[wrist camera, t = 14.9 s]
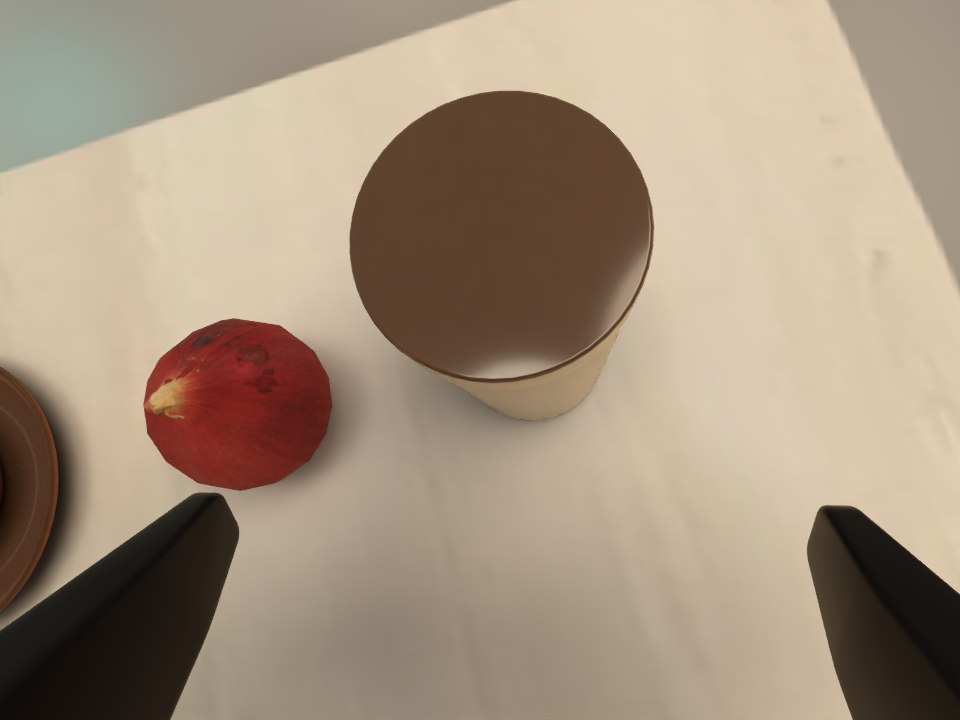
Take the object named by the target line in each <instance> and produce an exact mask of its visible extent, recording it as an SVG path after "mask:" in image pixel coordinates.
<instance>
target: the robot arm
mask: <svg viewBox="0 0 960 720" xmlns="http://www.w3.org/2000/svg"><path fill="white" fill-rule="evenodd" d="M238 539H239V527H238V524H237V522H236V520H235V518H234V516H233V514H232V512H231V510H230V508H229V506H228V504H227V502H226V500H225V498H224V497H223V496H222V495H221V494H219V493H195V494H193V495H191V496H189V497H188V498H187V499H185V500H184V501H182V502H181V503H179V504H178V505H177V506H175V507H174V508H172V509H171V510H170V511H168V512H167V513H165V514H164V515H163V516H161V517H160V518H158V519H157V520H156V521H154V522H153V523H151V524H150V525H149V526H147V527H146V528H144V529H143V530H141V531H140V532H139V533H137V534H136V535H134V536H133V537H132V538H130V539H129V540H127V541H126V542H125V543H123V544H122V545H120V546H119V547H118V548H116V549H115V550H113V551H112V552H111V553H109V554H108V555H106V556H105V557H104V558H102V559H101V560H99V561H98V562H96V563H95V564H94V565H92V566H91V567H89V568H88V569H87V570H85V571H84V572H82V573H81V574H80V575H78V576H77V577H75V578H74V579H73V580H71V581H70V582H68V583H67V584H66V585H64V586H63V587H61V588H60V589H58V590H57V591H56V592H54V593H53V594H51V595H50V596H49V597H47V598H46V599H44V600H43V601H42V602H40V603H39V604H37V605H36V606H35V607H33V608H32V609H30V610H29V611H27V612H26V613H25V614H23V615H22V616H20V617H19V618H18V619H16V620H15V621H13V622H12V623H11V624H9V625H8V626H6V627H5V628H4V629H2V630H1V631H0V720H170V719H171V717H172V714H173V712H174V710H175V707H176V705H177V703H178V700H179V698H180V696H181V694H182V691H183V689H184V687H185V684H186V682H187V680H188V678H189V675H190V673H191V671H192V668H193V666H194V664H195V661H196V659H197V657H198V655H199V652H200V650H201V648H202V645H203V643H204V641H205V638H206V636H207V633H208V631H209V628H210V625H211V622H212V620H213V617H214V614H215V611H216V608H217V605H218V602H219V599H220V596H221V592H222V589H223V586H224V583H225V580H226V577H227V574H228V571H229V568H230V565H231V562H232V559H233V556H234V552H235V549H236V546H237V543H238ZM807 556H808V562H809V566H810V570H811V574H812V579H813V583H814V587H815V591H816V595H817V599H818V603H819V607H820V611H821V615H822V619H823V624H824V628H825V632H826V636H827V640H828V644H829V648H830V652H831V656H832V660H833V663H834V667H835V671H836V674H837V677H838V680H839V683H840V686H841V688H842V691H843V694H844V697H845V700H846V702H847V705H848V708H849V710H850V713H851V716H852V719H853V720H960V594H959V593H958V592H956V591H955V590H954V589H953V588H952V587H950V586H949V585H948V584H947V583H946V582H944V581H943V580H942V579H941V578H940V577H939V576H937V575H936V574H935V573H934V572H933V571H931V570H930V569H929V568H928V567H927V566H925V565H924V564H923V563H922V562H921V561H920V560H918V559H917V558H916V557H915V556H914V555H912V554H911V553H910V552H909V551H908V550H906V549H905V548H904V547H903V546H902V545H901V544H899V543H898V542H897V541H896V540H895V539H893V538H892V537H891V536H890V535H889V534H887V533H886V532H885V531H884V530H883V529H882V528H880V527H879V526H878V525H877V524H876V523H874V522H873V521H872V520H871V519H870V518H868V517H867V516H866V515H865V514H864V513H863V512H861V511H860V510H859V509H857V508H855V507H852V506H834V505H825V506H822V507H821V508H820V509H819V510H818V512H817V515H816V518H815V521H814V524H813V528H812V531H811V534H810V537H809V540H808V545H807Z"/></svg>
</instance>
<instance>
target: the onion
mask: <svg viewBox="0 0 960 720" xmlns="http://www.w3.org/2000/svg"><path fill="white" fill-rule="evenodd" d="M331 408H332V401H331V393H330V385H329V378H328V376H327V374H326V372H325V370H324V368H323V367H322V365H321V363H320V361H319V359H318V358H317V356H316V354H315V352H314V351H313V350H312V349H310V348H309V347H308V346H307V345H306V344H304V343H303V342H302V341H300V340H299V339H298V338H296V337H295V336H293V335H292V334H291V333H289V332H288V331H287V330H285V329H284V328H283V327H281V326H280V325H274V324H267V323H261V322H254V321H248V320H241V319H234V318H233V319H228V320H222V321H219V322H216V323H214V324H211V325H209V326H207V327H204V328H202V329H199V330H197V331H194V332H192V333H191V334H190V335H189V336H188V337H186V338H185V339H184V340H183V341H181V342H180V343H179V344H177V345H176V346H175V347H173V348H172V349H171V350H170V351H168V352H167V353H166V354H164V355H163V356H162V357H161V358H160V359H159V361H158V363H157V365H156V366H155V368H154V370H153V372H152V374H151V376H150V377H149V379H148V382H147V387H146V393H145V399H144V412H145V418H146V425H147V434H148V435H149V437H150V438H151V440H152V441H153V443H154V444H155V445H156V447H157V448H158V450H159V451H160V453H161V454H162V456H163V457H164V459H165V460H166V462H168V463H169V464H170V465H172V466H173V467H175V468H176V469H178V470H179V471H181V472H182V473H184V474H185V475H187V476H188V477H190V478H191V479H193V480H194V481H196V482H197V483H201V484H206V485H211V486H216V487H222V488H228V489H233V490H239V491H241V490H246V489H250V488H255V487H260V486H264V485H269V484H273V483H275V482H277V481H279V480H281V479H283V478H284V477H286V476H287V475H289V474H290V473H292V472H293V471H295V470H296V469H298V468H299V467H300V466H302V465H303V464H305V463H306V462H308V461H309V460H310V458H311V457H312V455H313V454H314V452H315V450H316V449H317V447H318V446H319V444H320V443H321V441H322V439H323V438H324V436H325V435H326V432H327V427H328V422H329V418H330V413H331Z"/></svg>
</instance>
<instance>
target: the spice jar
mask: <svg viewBox="0 0 960 720" xmlns="http://www.w3.org/2000/svg"><path fill="white" fill-rule="evenodd" d="M653 238H654V221H653V210H652V204H651V200H650V196H649V192H648V188H647V186H646V183H645V180H644V178H643V175H642V173H641V170H640V169H639V167H638V165H637V163H636V162H635V160H634V158H633V157H632V155H631V153H630V152H629V151H628V149H627V148H626V147H625V146H624V144H623V143H622V142H621V140H620V139H619V138H618V137H617V136H616V135H615V134H614V133H613V132H612V131H611V130H610V129H609V128H608V127H607V126H606V125H604V124H603V123H602V122H600V121H599V120H598V119H596V118H595V117H594V116H592V115H591V114H589V113H588V112H586V111H584V110H582V109H580V108H579V107H577V106H575V105H573V104H570V103H568V102H565V101H563V100H560V99H558V98H555V97H551V96H547V95H543V94H539V93H532V92H524V91H494V92H486V93H479V94H475V95H471V96H467V97H463V98H460V99H457V100H454V101H452V102H449V103H446V104H444V105H442V106H440V107H438V108H436V109H434V110H432V111H430V112H428V113H426V114H425V115H423V116H422V117H420V118H419V119H417V120H416V121H414V122H413V123H411V124H410V125H409V126H408V127H407V128H405V129H404V130H403V131H402V132H401V133H400V134H398V135H397V136H396V137H395V138H394V139H393V140H392V142H391V143H390V144H389V145H388V146H387V147H386V148H385V149H384V150H383V152H382V153H381V154H380V156H379V157H378V159H377V160H376V161H375V163H374V164H373V166H372V167H371V169H370V171H369V173H368V175H367V176H366V178H365V180H364V182H363V185H362V187H361V189H360V192H359V194H358V197H357V200H356V204H355V208H354V211H353V215H352V222H351V229H350V260H351V267H352V273H353V277H354V281H355V284H356V288H357V291H358V293H359V296H360V298H361V300H362V303H363V305H364V307H365V309H366V311H367V312H368V314H369V316H370V317H371V319H372V320H373V322H374V324H375V325H376V326H377V327H378V329H379V330H380V331H381V332H382V333H383V335H384V336H385V337H386V338H387V339H388V340H389V341H390V342H391V343H392V344H393V345H394V346H395V347H396V348H397V349H399V350H400V351H401V352H402V353H404V354H405V355H407V356H408V357H409V358H411V359H412V360H414V361H415V362H417V363H418V364H420V365H421V366H423V367H425V368H426V369H428V370H429V371H431V372H433V373H435V374H437V375H439V376H441V377H443V378H445V379H447V380H450V381H451V382H453V383H454V384H456V385H457V386H459V387H460V388H462V389H464V390H465V391H467V392H468V393H470V394H471V395H473V396H474V397H476V398H478V399H479V400H481V401H482V402H484V403H485V404H487V405H488V406H490V407H491V408H493V409H495V410H496V411H498V412H500V413H502V414H504V415H507V416H509V417H512V418H516V419H521V420H544V419H549V418H553V417H556V416H559V415H561V414H563V413H565V412H568V411H569V410H571V409H572V408H574V407H575V406H577V405H578V404H579V403H580V402H581V401H582V400H583V399H584V398H585V397H586V396H587V395H588V394H589V393H590V391H591V390H592V388H593V387H594V385H595V383H596V381H597V379H598V377H599V375H600V373H601V371H602V368H603V366H604V364H605V362H606V359H607V357H608V355H609V353H610V351H611V348H612V346H613V344H614V342H615V339H616V337H617V335H618V333H619V330H620V328H621V327H622V325H623V324H624V322H625V321H626V319H627V317H628V315H629V313H630V311H631V309H632V307H633V305H634V303H635V301H636V299H637V297H638V295H639V293H640V291H641V289H642V286H643V284H644V281H645V278H646V275H647V272H648V269H649V265H650V260H651V255H652V250H653Z"/></svg>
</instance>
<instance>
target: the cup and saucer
mask: <svg viewBox="0 0 960 720" xmlns="http://www.w3.org/2000/svg"><path fill="white" fill-rule="evenodd" d="M57 495H58V462H57V455H56V449H55V444H54V440H53V436H52V432H51V430H50V427H49V424H48V422H47V419H46V417H45V415H44V413H43V411H42V409H41V407H40V406H39V404H38V403H37V401H36V399H35V398H34V397H33V395H32V394H31V393H30V392H29V390H28V389H27V388H26V387H25V386H24V385H23V384H22V383H21V382H20V381H19V380H18V379H17V378H15V377H14V376H13V375H12V374H10V373H9V372H7V371H6V370H4V369H3V368H1V367H0V612H1V611H2V610H3V609H4V608H5V607H6V606H7V605H8V604H9V603H10V602H11V601H12V600H13V598H14V597H15V596H16V595H17V593H18V592H19V591H20V590H21V588H22V587H23V586H24V584H25V583H26V581H27V580H28V578H29V577H30V575H31V573H32V572H33V570H34V568H35V566H36V564H37V563H38V561H39V558H40V556H41V554H42V552H43V550H44V547H45V545H46V542H47V539H48V537H49V534H50V530H51V527H52V523H53V519H54V515H55V509H56V504H57Z"/></svg>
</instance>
